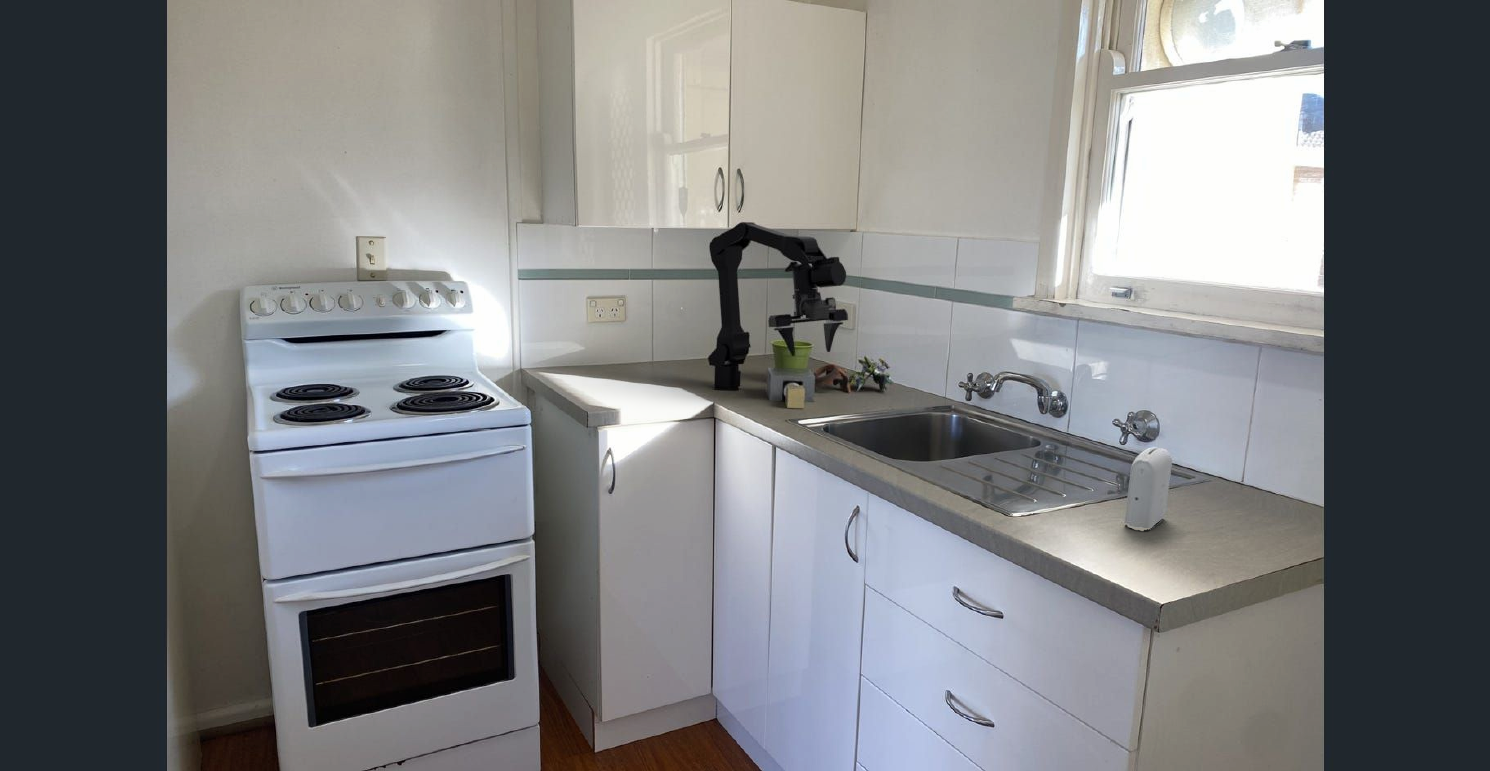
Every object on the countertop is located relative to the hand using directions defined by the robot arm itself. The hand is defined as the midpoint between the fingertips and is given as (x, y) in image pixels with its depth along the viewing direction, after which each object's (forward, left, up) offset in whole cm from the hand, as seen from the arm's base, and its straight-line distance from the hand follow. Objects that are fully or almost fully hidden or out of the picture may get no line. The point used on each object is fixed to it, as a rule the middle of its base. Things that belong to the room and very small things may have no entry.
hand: (811, 353), depth 222 cm
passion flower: (+18, +20, -13) cm, 30 cm away
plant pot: (-2, +28, -13) cm, 31 cm away
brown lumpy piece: (+9, +20, -13) cm, 25 cm away
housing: (-4, +10, -13) cm, 17 cm away
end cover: (-4, +5, -13) cm, 14 cm away
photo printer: (+44, -81, -13) cm, 93 cm away
